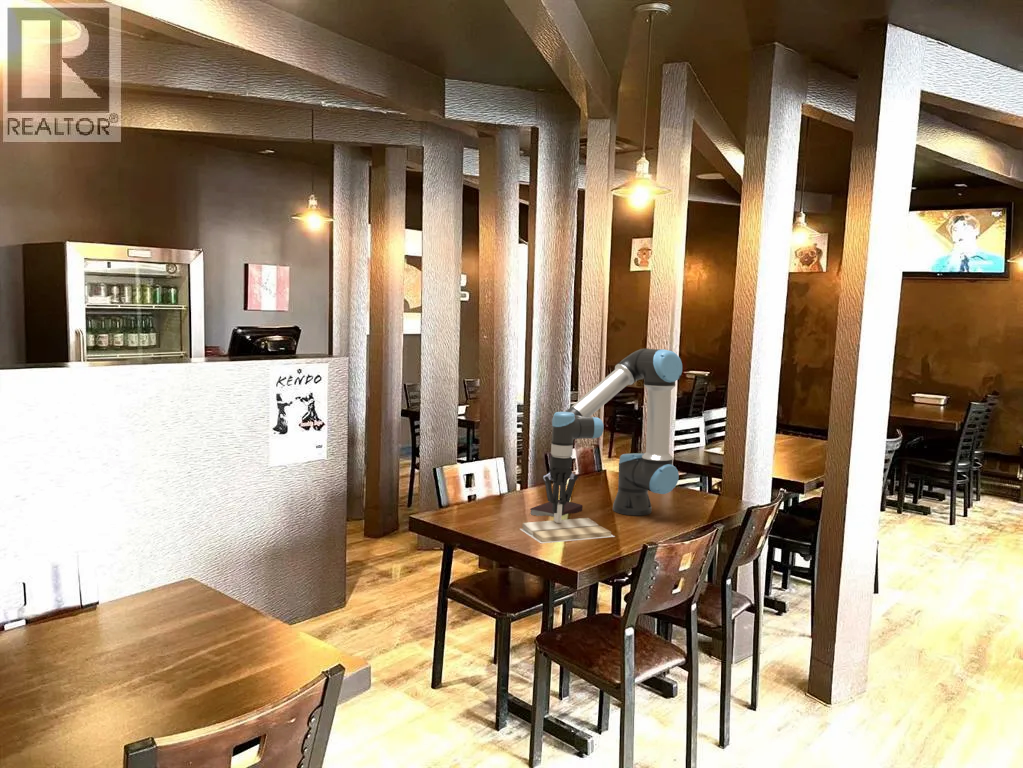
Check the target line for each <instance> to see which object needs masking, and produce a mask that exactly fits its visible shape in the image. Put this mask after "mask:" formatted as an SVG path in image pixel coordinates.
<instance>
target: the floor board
mask: <svg viewBox="0 0 1023 768" xmlns="http://www.w3.org/2000/svg"><path fill="white" fill-rule="evenodd" d="M519 530H520V532H521V531H522V532H523V533H525V534H526V535H527V536H529V537H530V538H532V539H534V540H535V541H536V542H538V543H540V544H548V543H550V544H551V543H562V542H570V541H571V542H573V541H574V542H575V541H582V540H583V541H584V540H585V541H586V540H592V539H593V540H594V539H604V538H605V539H606V538H615V537H616V536H615V535H613V534H611V536H606V537H595V538H584V539H573V540H562V541H551V542H541V541H540V540H538V539H537V538H535V537H534V536H533V535H531V534H530V533H529V532H528V531H526V530H525V529H524V528H519Z"/></svg>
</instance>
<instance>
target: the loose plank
mask: <svg viewBox="0 0 1023 768" xmlns="http://www.w3.org/2000/svg"><path fill="white" fill-rule="evenodd" d="M596 526H600V525H599V524H598V523H597V522H596V521H594V520H592V519H591V518H589V517H582V518H579V517H578V518H570V519H569V518H568V519H567V518H565V519H561V523H556V522H555V521H554V520H546V521H545V520H543V521H541V520H540V521H534V522H533V521H532V522H531V521H530V522H522V525H521V527H522V529H525V530H526V531H528V532H529V533H530V534H531V535H533V532H536V531H548V530H560V529H572V528H584V527H596Z"/></svg>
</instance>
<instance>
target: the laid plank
mask: <svg viewBox="0 0 1023 768" xmlns="http://www.w3.org/2000/svg"><path fill="white" fill-rule="evenodd" d="M611 535H612V531H611V530H609V529H607V528H606V527H604V526H601V525H599V526H596V527H584V528H572V529H560V530H548V531H536V532H533V536H534V537H535V538H537V539H538V540H540V541H541V542H551V541H562V540H573V539H584V538H595V537H606V536H611ZM606 538H607V537H606Z"/></svg>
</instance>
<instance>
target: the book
mask: <svg viewBox="0 0 1023 768" xmlns="http://www.w3.org/2000/svg"><path fill="white" fill-rule="evenodd" d="M558 503H560V502H559V499H558ZM552 507H553V503H551V502H549V501H548V502H545V503H542V504H539V505H537V506H534V507H531V508H529V510H530V513H529V514H531V515H530V516H534V515H536V517H540V516H542V517H543V516H548V517H549V516H550V517H553V518H554V513H553V512H552ZM579 511H580V512H582V511H583V504H580V503H577V502H576V503H575V502H571V501H569V502H566V504H565V505H564V513H562V516H565V515H567V514H568V515H569V514H577V513H580V512H579Z"/></svg>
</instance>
